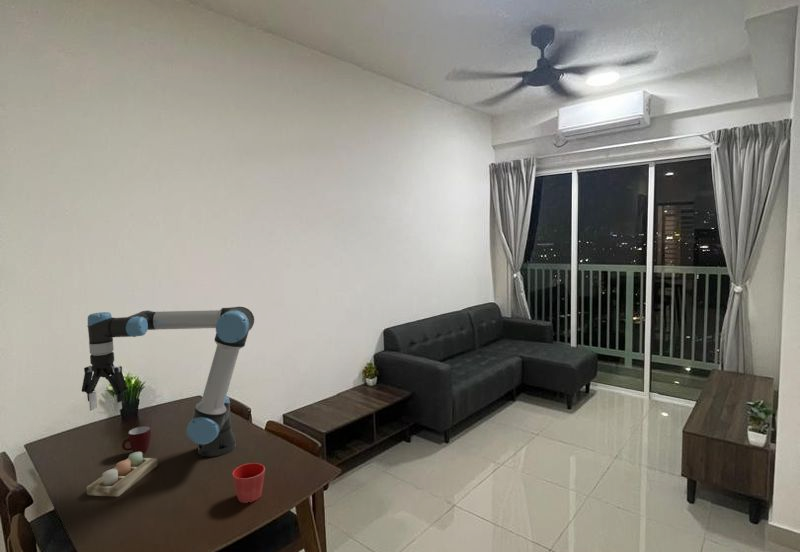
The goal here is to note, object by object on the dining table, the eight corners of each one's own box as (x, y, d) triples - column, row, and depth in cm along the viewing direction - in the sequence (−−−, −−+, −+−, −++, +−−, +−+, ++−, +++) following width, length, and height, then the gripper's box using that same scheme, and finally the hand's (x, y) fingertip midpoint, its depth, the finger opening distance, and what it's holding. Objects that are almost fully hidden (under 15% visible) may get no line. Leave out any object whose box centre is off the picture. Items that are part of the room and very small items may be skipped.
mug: (125, 461, 175) (123, 438, 174) (120, 455, 180) (119, 432, 180) (154, 452, 182) (152, 430, 181) (148, 446, 188) (147, 424, 187)
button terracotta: (133, 468, 163) (133, 460, 163) (125, 475, 159) (124, 466, 159) (122, 468, 164) (122, 459, 164) (113, 474, 159) (113, 466, 159)
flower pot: (254, 484, 157) (253, 459, 156) (271, 495, 150) (270, 469, 149) (227, 498, 149) (226, 471, 148) (244, 510, 142) (243, 482, 141)
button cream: (121, 478, 157) (120, 469, 157) (111, 485, 152) (111, 476, 152) (109, 477, 157) (109, 468, 157) (99, 484, 153) (99, 475, 152)
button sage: (145, 460, 170) (144, 451, 170) (137, 466, 165) (136, 457, 165) (134, 459, 170) (134, 451, 170) (126, 465, 166) (125, 457, 165)
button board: (157, 465, 171) (156, 458, 171) (118, 496, 151) (117, 488, 150) (129, 464, 173) (129, 457, 172) (87, 495, 152) (86, 487, 151)
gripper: (136, 350, 165) (139, 406, 167) (83, 350, 167) (87, 405, 169) (121, 355, 158) (125, 414, 160) (66, 355, 160) (71, 412, 162)
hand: (106, 409), depth 164 cm, fingers open, 10 cm apart
